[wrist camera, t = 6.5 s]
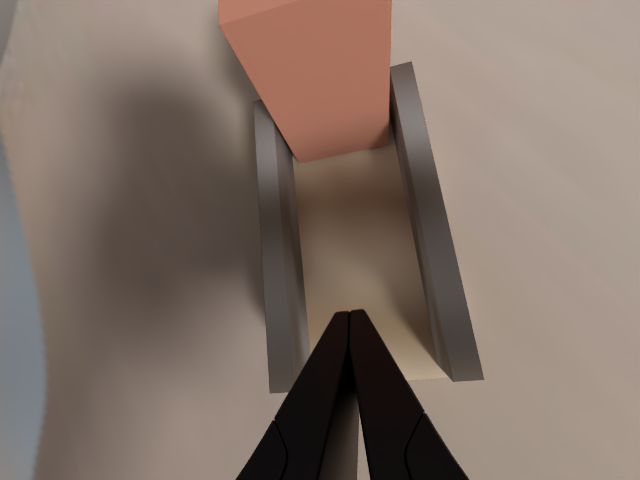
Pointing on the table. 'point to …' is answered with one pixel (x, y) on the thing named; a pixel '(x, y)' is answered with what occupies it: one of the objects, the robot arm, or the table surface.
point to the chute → (362, 247)
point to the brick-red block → (317, 69)
